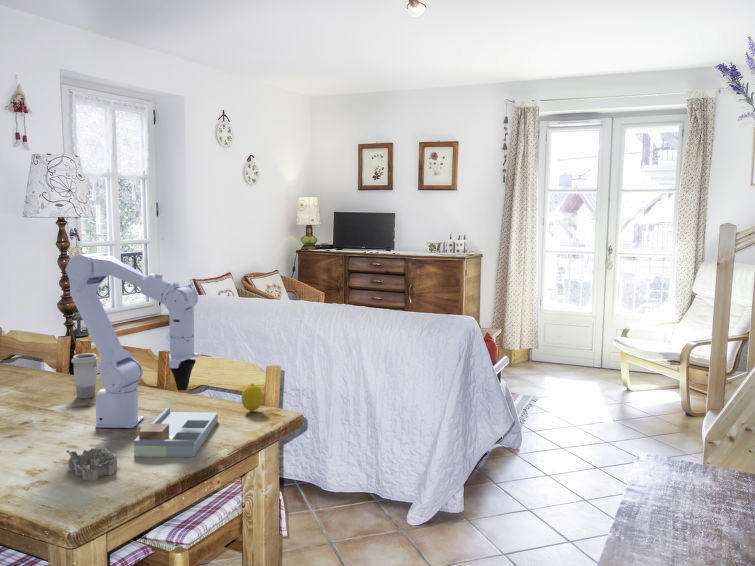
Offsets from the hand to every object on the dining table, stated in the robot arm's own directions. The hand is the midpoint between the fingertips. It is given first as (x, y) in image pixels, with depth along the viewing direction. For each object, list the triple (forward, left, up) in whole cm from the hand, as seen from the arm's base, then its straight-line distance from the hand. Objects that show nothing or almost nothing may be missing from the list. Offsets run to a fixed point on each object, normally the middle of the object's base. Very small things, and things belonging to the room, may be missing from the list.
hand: (182, 389), depth 149 cm
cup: (-35, +25, -10) cm, 44 cm away
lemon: (+15, +13, -10) cm, 22 cm away
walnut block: (-2, -15, -8) cm, 17 cm away
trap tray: (+1, -7, -10) cm, 12 cm away
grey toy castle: (-11, -25, -10) cm, 29 cm away
